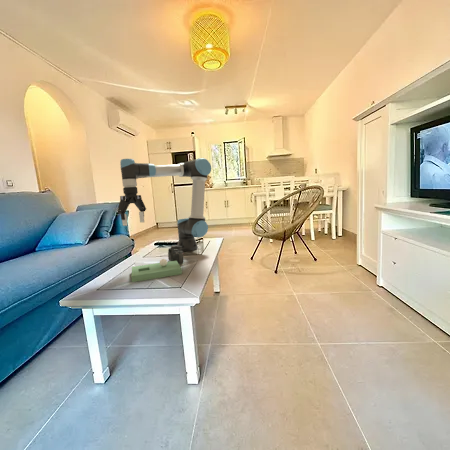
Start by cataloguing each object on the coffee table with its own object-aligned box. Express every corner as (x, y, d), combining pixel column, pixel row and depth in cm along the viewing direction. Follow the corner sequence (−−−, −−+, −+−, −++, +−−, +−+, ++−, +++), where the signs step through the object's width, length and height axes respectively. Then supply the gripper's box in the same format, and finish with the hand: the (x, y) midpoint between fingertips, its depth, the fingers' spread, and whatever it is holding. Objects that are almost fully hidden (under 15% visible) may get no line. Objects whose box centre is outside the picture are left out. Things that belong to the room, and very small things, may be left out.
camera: (189, 261, 148) (188, 245, 147) (175, 265, 141) (174, 248, 139) (176, 258, 157) (175, 243, 156) (163, 262, 150) (161, 246, 149)
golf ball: (167, 264, 132) (166, 257, 132) (168, 266, 128) (167, 259, 128) (159, 266, 131) (158, 258, 130) (160, 268, 127) (159, 260, 127)
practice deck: (176, 265, 141) (176, 260, 140) (182, 274, 125) (181, 268, 124) (132, 272, 133) (132, 266, 132) (132, 282, 117) (131, 276, 116)
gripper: (140, 187, 151) (143, 221, 154) (107, 187, 129) (111, 227, 131) (150, 186, 148) (153, 221, 151) (117, 186, 126) (122, 227, 128)
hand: (134, 224), depth 141 cm, fingers open, 13 cm apart
